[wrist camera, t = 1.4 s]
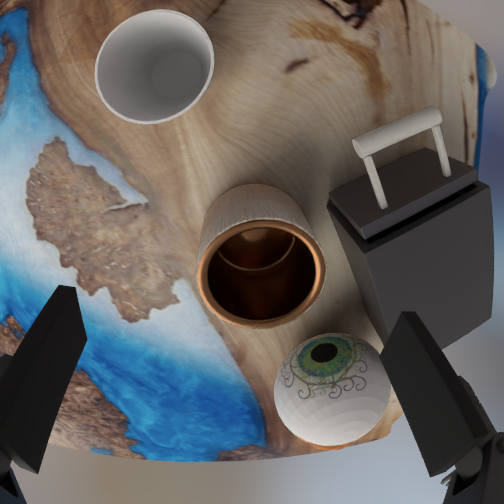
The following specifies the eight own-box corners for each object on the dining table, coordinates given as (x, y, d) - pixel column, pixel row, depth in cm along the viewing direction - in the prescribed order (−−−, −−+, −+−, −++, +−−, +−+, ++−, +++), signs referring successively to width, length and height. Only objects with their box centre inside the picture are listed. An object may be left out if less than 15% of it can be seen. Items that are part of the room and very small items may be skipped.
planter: (249, 290, 37) (255, 348, 29) (181, 228, 33) (166, 277, 24) (323, 233, 34) (352, 281, 26) (259, 159, 30) (272, 186, 22)
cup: (237, 74, 26) (241, 62, 17) (175, 132, 28) (150, 148, 19) (178, 20, 23) (156, -11, 14) (119, 79, 25) (73, 76, 16)
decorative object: (373, 299, 39) (422, 384, 26) (363, 370, 46) (393, 446, 33) (262, 320, 39) (276, 420, 26) (273, 389, 47) (285, 472, 33)
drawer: (303, 137, 28) (331, 154, 20) (407, 93, 26) (461, 99, 18) (369, 304, 39) (396, 352, 31) (447, 262, 37) (484, 299, 29)
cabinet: (326, 206, 33) (364, 254, 23) (428, 157, 31) (490, 186, 21) (368, 316, 41) (398, 373, 31) (449, 272, 39) (491, 317, 29)
